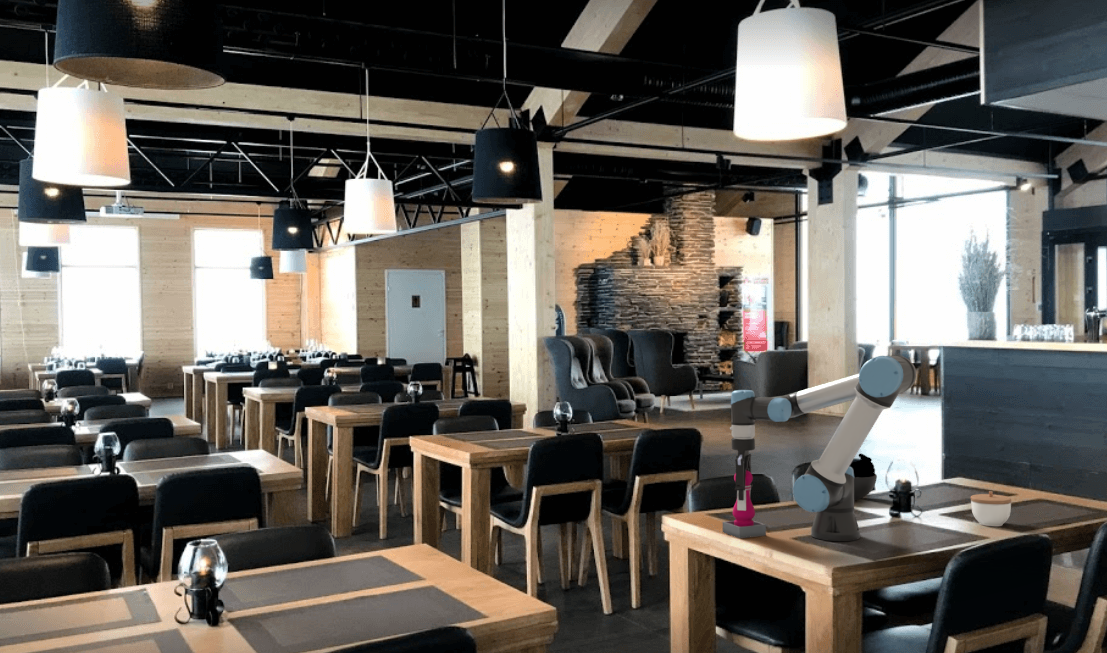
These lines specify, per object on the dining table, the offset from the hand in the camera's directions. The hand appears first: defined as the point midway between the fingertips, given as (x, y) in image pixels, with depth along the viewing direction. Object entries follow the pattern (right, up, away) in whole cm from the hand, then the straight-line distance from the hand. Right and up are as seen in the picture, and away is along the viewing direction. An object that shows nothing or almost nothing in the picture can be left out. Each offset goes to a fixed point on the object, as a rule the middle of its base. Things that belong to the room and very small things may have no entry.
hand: (743, 508), depth 326 cm
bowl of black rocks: (+52, -8, +59) cm, 79 cm away
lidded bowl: (+86, -8, +11) cm, 87 cm away
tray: (0, -8, 0) cm, 8 cm away
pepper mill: (0, -6, 0) cm, 6 cm away
